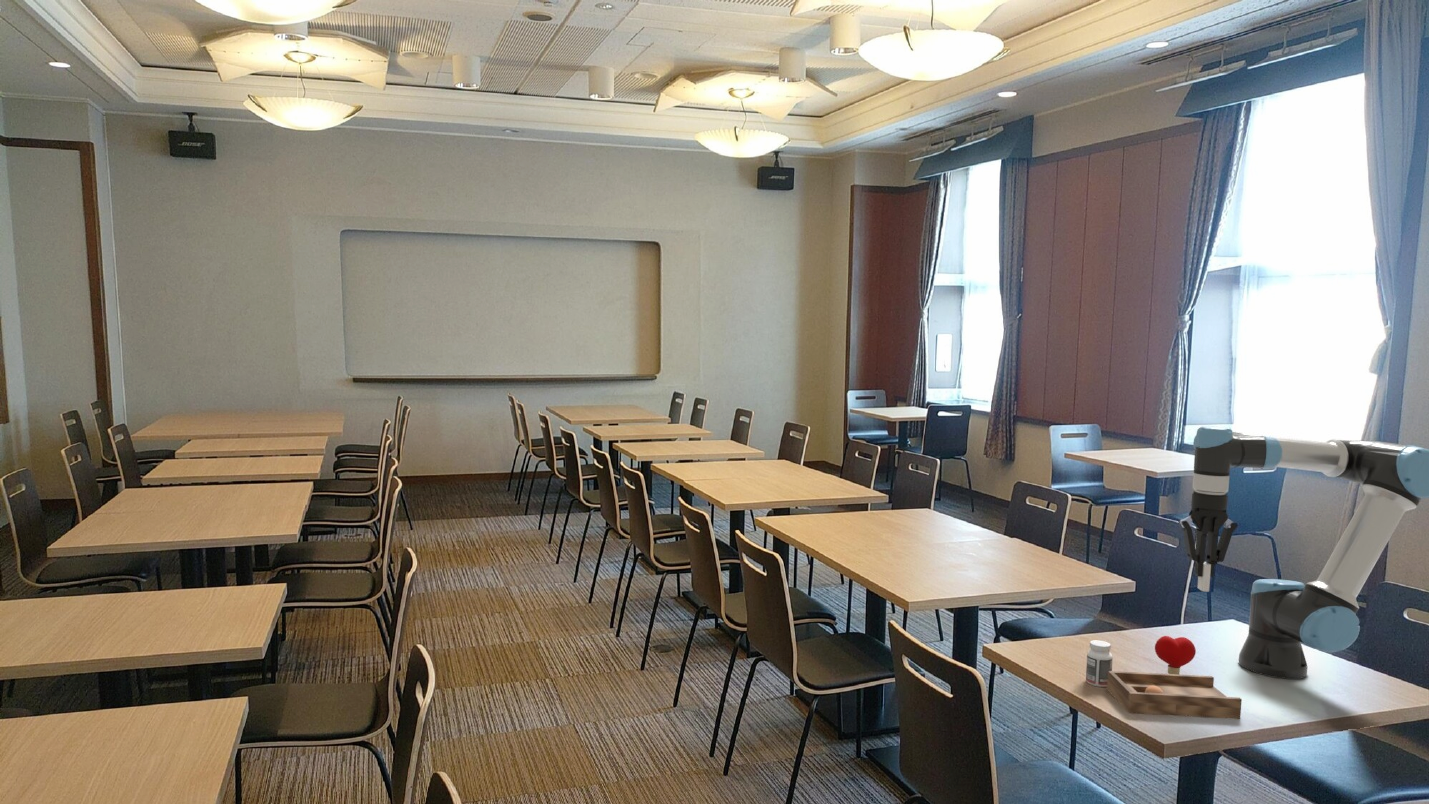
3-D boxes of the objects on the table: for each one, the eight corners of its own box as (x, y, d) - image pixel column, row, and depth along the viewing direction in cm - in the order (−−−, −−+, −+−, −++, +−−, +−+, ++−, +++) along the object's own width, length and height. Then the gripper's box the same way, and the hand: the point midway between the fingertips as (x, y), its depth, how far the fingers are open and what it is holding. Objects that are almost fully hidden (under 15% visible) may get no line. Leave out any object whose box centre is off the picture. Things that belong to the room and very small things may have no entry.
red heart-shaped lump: (1157, 680, 227) (1160, 640, 227) (1149, 670, 234) (1151, 631, 234) (1198, 683, 226) (1200, 643, 225) (1188, 673, 233) (1191, 634, 232)
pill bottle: (1111, 681, 226) (1113, 641, 225) (1110, 689, 221) (1113, 648, 220) (1086, 677, 228) (1088, 638, 227) (1084, 684, 223) (1087, 644, 222)
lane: (1210, 694, 219) (1211, 676, 219) (1240, 719, 205) (1241, 699, 205) (1106, 689, 220) (1108, 670, 220) (1129, 713, 207) (1130, 693, 206)
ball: (1154, 702, 215) (1162, 687, 214) (1161, 709, 211) (1169, 694, 210) (1138, 695, 215) (1146, 680, 214) (1145, 701, 211) (1153, 686, 210)
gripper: (1230, 490, 222) (1223, 586, 224) (1174, 488, 223) (1168, 584, 224) (1246, 495, 214) (1239, 595, 216) (1188, 493, 215) (1182, 593, 217)
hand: (1203, 589), depth 220 cm, fingers closed
